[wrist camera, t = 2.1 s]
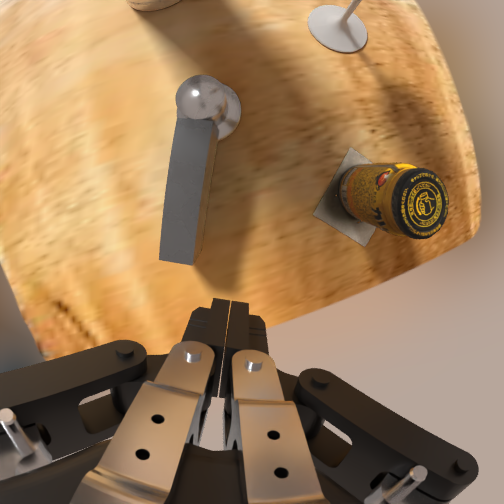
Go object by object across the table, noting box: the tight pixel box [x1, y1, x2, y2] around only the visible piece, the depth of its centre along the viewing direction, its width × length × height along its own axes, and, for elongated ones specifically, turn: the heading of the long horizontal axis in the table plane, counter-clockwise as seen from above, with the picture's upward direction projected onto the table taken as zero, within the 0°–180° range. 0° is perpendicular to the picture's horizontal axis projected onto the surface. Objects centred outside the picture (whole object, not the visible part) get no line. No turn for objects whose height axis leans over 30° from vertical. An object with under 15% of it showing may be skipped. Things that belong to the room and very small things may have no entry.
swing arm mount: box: [177, 83, 241, 141], centre depth 25 cm, size 6×6×1 cm
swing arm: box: [159, 75, 229, 265], centre depth 24 cm, size 16×4×5 cm, turn 171°
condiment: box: [313, 147, 449, 247], centre depth 23 cm, size 7×8×12 cm
